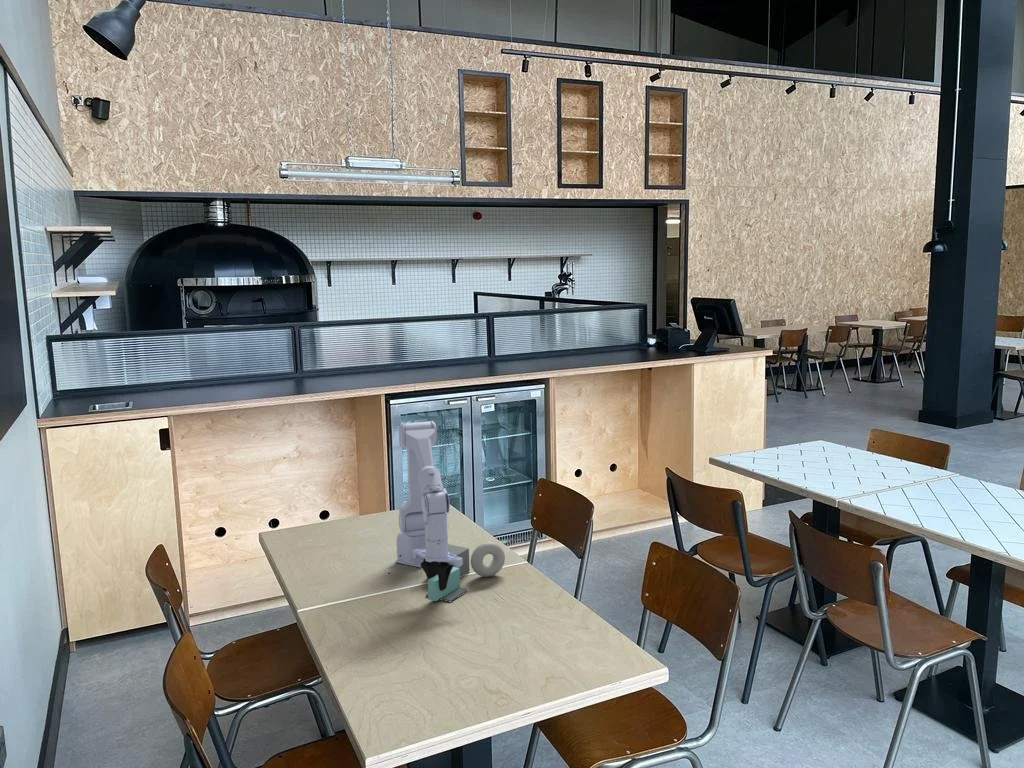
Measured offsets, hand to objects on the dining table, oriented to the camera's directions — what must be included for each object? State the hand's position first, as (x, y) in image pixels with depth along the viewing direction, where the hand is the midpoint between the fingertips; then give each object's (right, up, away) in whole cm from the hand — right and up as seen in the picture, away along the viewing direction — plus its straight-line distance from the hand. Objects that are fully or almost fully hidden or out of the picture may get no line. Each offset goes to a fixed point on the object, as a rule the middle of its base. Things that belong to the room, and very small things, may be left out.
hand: (438, 588), depth 198 cm
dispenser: (+1, -1, +16) cm, 16 cm away
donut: (+12, -1, +15) cm, 19 cm away
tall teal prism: (+1, -2, +2) cm, 3 cm away
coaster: (+2, -3, +4) cm, 5 cm away
